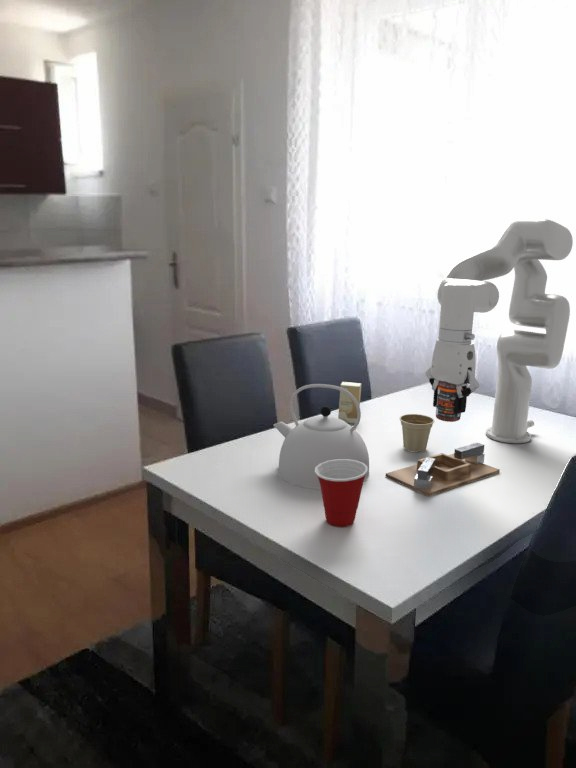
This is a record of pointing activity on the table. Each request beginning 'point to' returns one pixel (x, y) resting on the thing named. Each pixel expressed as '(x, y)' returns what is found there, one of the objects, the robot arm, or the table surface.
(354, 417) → the skincare box
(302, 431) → the kettle
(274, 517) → the table surface
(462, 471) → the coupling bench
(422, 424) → the flower pot
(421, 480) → the pair of grey blocks
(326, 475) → the plastic cup
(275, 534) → the table surface
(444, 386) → the supplement bottle
